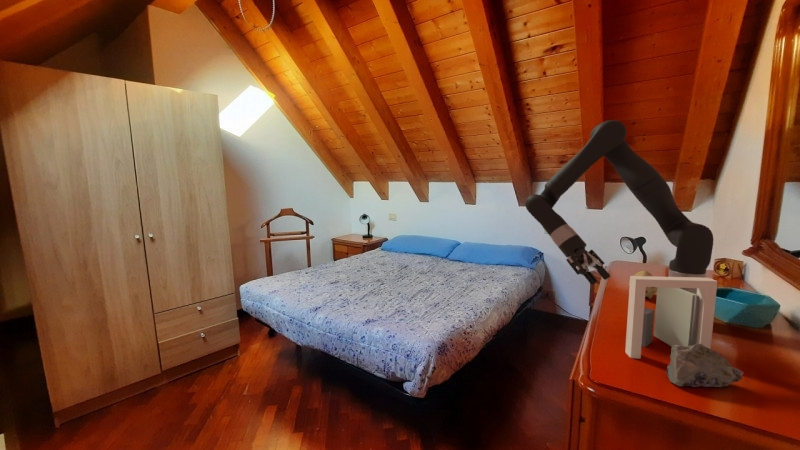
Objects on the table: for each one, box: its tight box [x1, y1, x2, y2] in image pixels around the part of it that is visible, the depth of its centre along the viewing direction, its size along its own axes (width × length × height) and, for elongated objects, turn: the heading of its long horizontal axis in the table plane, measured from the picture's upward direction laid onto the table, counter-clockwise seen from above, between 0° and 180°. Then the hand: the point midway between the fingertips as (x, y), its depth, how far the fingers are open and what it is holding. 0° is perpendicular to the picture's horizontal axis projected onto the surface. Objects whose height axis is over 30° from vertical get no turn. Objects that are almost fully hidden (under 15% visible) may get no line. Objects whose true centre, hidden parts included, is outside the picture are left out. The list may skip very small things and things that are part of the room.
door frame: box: [624, 275, 718, 359], centre depth 87 cm, size 18×3×22 cm, turn 80°
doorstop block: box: [641, 306, 655, 348], centre depth 97 cm, size 4×5×10 cm
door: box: [653, 287, 699, 348], centre depth 92 cm, size 13×3×17 cm, turn 0°
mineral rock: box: [666, 343, 744, 388], centre depth 76 cm, size 13×11×10 cm
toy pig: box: [628, 270, 657, 299], centre depth 133 cm, size 10×12×11 cm
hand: (601, 280), depth 105 cm, fingers open, 8 cm apart
